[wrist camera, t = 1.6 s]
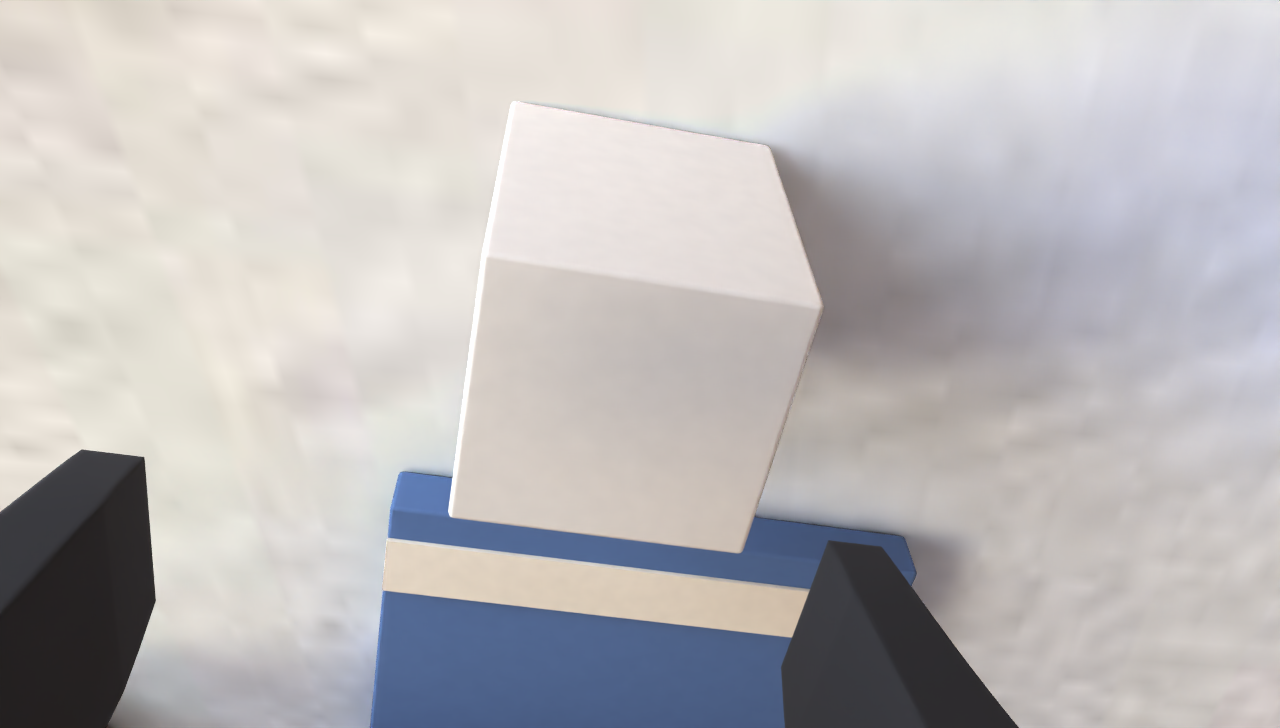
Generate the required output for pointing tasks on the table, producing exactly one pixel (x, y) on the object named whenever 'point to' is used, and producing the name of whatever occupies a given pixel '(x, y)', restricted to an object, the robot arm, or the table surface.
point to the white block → (631, 333)
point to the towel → (586, 622)
